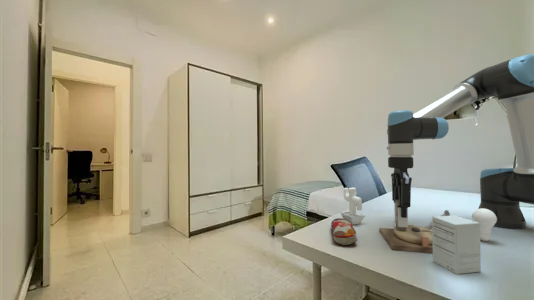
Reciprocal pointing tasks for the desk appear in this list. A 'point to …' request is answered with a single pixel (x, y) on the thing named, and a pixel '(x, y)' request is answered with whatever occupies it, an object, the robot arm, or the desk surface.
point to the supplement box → (456, 244)
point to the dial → (412, 231)
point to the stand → (403, 242)
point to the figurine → (353, 206)
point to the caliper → (446, 213)
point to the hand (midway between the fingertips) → (400, 224)
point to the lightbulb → (484, 222)
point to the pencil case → (343, 231)
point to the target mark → (424, 241)
